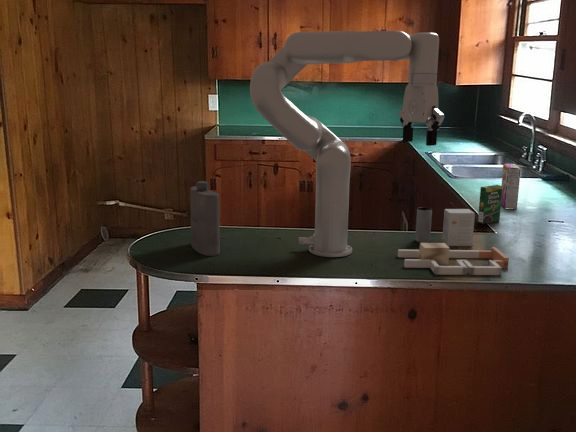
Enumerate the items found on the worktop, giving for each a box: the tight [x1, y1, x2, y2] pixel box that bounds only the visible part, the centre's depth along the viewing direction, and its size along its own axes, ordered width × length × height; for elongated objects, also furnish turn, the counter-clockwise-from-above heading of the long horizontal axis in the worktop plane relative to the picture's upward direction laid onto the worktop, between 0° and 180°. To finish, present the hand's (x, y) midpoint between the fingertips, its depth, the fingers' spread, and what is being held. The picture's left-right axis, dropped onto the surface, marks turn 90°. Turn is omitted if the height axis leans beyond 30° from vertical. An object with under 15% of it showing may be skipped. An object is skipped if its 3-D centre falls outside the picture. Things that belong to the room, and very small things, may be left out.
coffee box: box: [477, 184, 502, 225], centre depth 217 cm, size 8×3×13 cm, turn 116°
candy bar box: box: [500, 163, 522, 210], centre depth 243 cm, size 11×5×16 cm, turn 171°
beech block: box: [418, 242, 451, 266], centre depth 172 cm, size 7×5×5 cm
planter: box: [414, 206, 433, 243], centre depth 192 cm, size 4×4×10 cm
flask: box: [189, 180, 221, 257], centre depth 178 cm, size 15×6×20 cm, turn 26°
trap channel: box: [397, 246, 510, 276], centre depth 169 cm, size 28×16×3 cm, turn 91°
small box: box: [441, 208, 476, 247], centre depth 190 cm, size 8×6×10 cm
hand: (419, 143), depth 171 cm, fingers open, 9 cm apart
